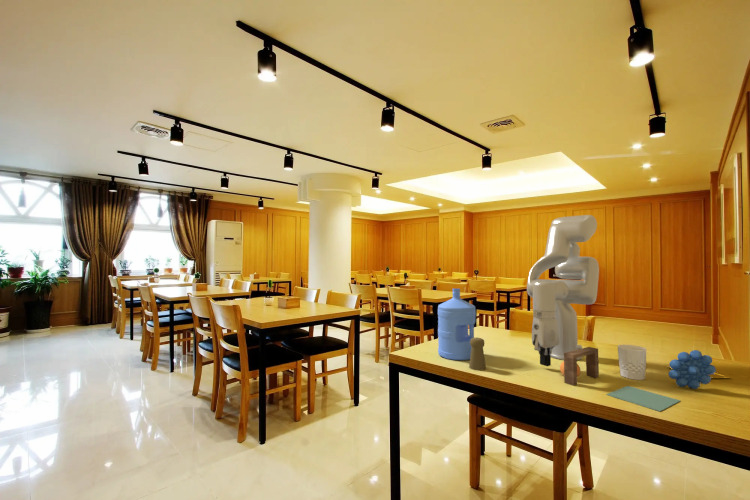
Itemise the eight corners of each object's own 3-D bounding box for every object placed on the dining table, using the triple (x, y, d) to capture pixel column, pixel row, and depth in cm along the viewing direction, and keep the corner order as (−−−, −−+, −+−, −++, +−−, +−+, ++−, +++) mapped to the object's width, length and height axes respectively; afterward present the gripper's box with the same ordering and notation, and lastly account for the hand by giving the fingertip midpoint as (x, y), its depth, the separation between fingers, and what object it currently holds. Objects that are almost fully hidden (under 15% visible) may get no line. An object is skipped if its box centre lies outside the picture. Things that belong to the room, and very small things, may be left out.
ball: (587, 376, 111) (573, 380, 116) (580, 358, 115) (566, 362, 119) (573, 376, 110) (559, 380, 114) (566, 357, 113) (553, 362, 118)
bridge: (564, 382, 110) (563, 352, 111) (589, 374, 118) (588, 346, 118) (573, 385, 108) (573, 355, 108) (598, 377, 115) (598, 348, 115)
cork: (487, 370, 123) (486, 340, 123) (469, 369, 124) (469, 339, 124) (485, 365, 128) (484, 336, 129) (468, 364, 130) (468, 335, 130)
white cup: (641, 374, 118) (640, 345, 118) (651, 382, 111) (650, 351, 111) (615, 371, 121) (614, 343, 121) (623, 379, 113) (622, 349, 114)
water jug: (432, 356, 140) (431, 289, 141) (446, 348, 153) (446, 286, 154) (468, 363, 132) (467, 291, 132) (481, 353, 144) (480, 288, 145)
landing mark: (627, 386, 107) (627, 385, 107) (680, 401, 96) (680, 400, 96) (606, 394, 100) (606, 394, 100) (660, 411, 89) (660, 410, 89)
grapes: (707, 386, 107) (706, 347, 107) (721, 394, 100) (720, 353, 101) (662, 381, 111) (661, 345, 111) (673, 389, 104) (672, 350, 105)
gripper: (541, 318, 118) (542, 371, 117) (566, 314, 125) (567, 364, 125) (522, 315, 124) (523, 365, 124) (547, 311, 132) (548, 359, 131)
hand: (545, 364), depth 124 cm, fingers closed
